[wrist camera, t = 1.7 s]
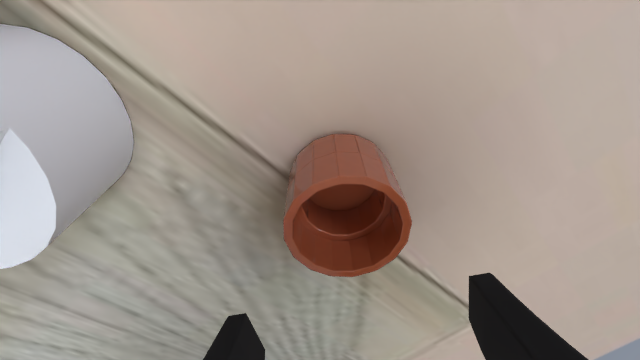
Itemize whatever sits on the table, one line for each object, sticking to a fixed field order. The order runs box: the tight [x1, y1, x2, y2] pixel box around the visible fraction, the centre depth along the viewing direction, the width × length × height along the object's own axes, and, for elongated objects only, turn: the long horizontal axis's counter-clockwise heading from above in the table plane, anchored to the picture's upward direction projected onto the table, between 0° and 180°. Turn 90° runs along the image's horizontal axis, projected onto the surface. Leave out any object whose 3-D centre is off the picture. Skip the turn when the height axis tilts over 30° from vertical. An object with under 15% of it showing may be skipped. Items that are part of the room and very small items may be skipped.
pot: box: [283, 134, 412, 277], centre depth 16 cm, size 6×6×5 cm
